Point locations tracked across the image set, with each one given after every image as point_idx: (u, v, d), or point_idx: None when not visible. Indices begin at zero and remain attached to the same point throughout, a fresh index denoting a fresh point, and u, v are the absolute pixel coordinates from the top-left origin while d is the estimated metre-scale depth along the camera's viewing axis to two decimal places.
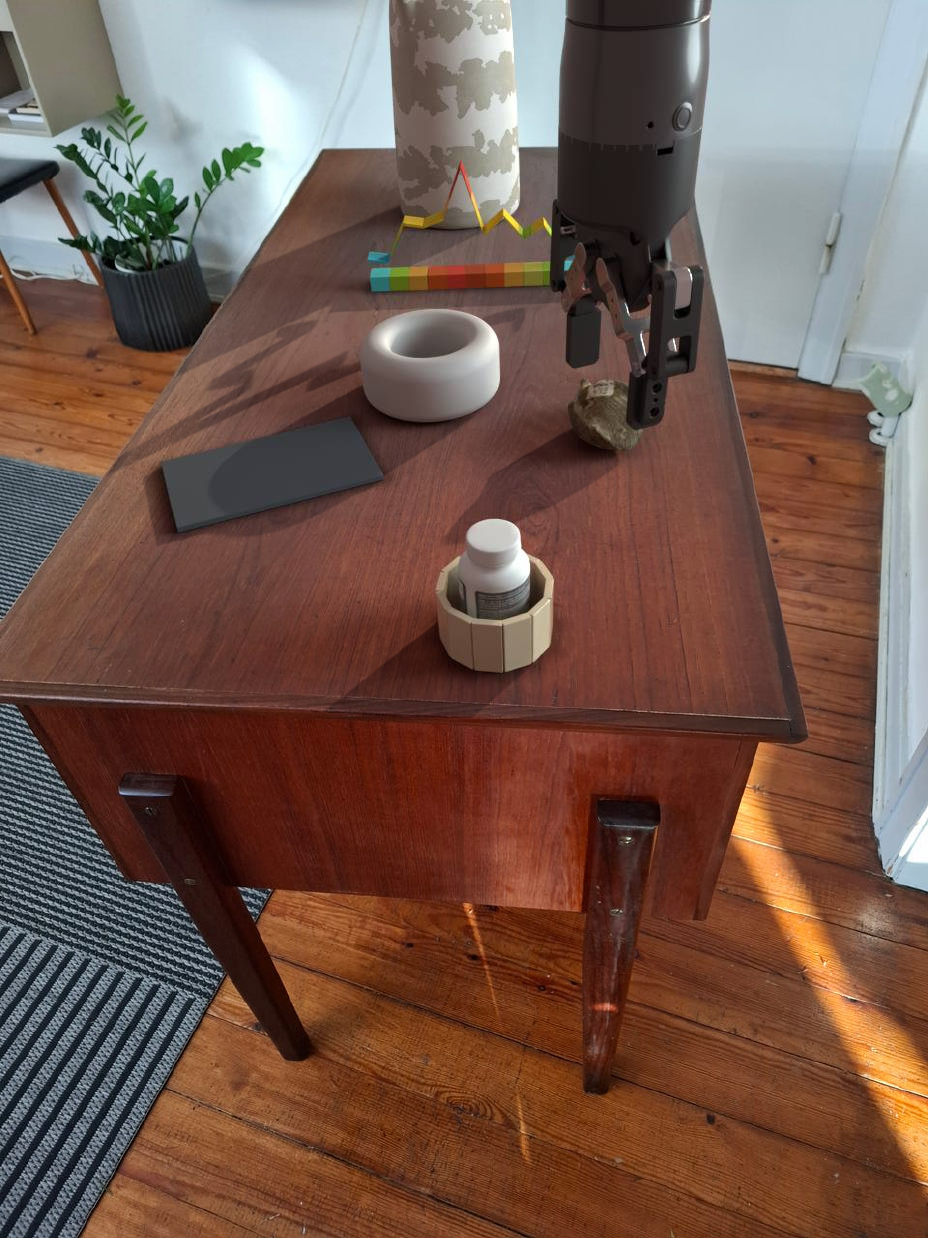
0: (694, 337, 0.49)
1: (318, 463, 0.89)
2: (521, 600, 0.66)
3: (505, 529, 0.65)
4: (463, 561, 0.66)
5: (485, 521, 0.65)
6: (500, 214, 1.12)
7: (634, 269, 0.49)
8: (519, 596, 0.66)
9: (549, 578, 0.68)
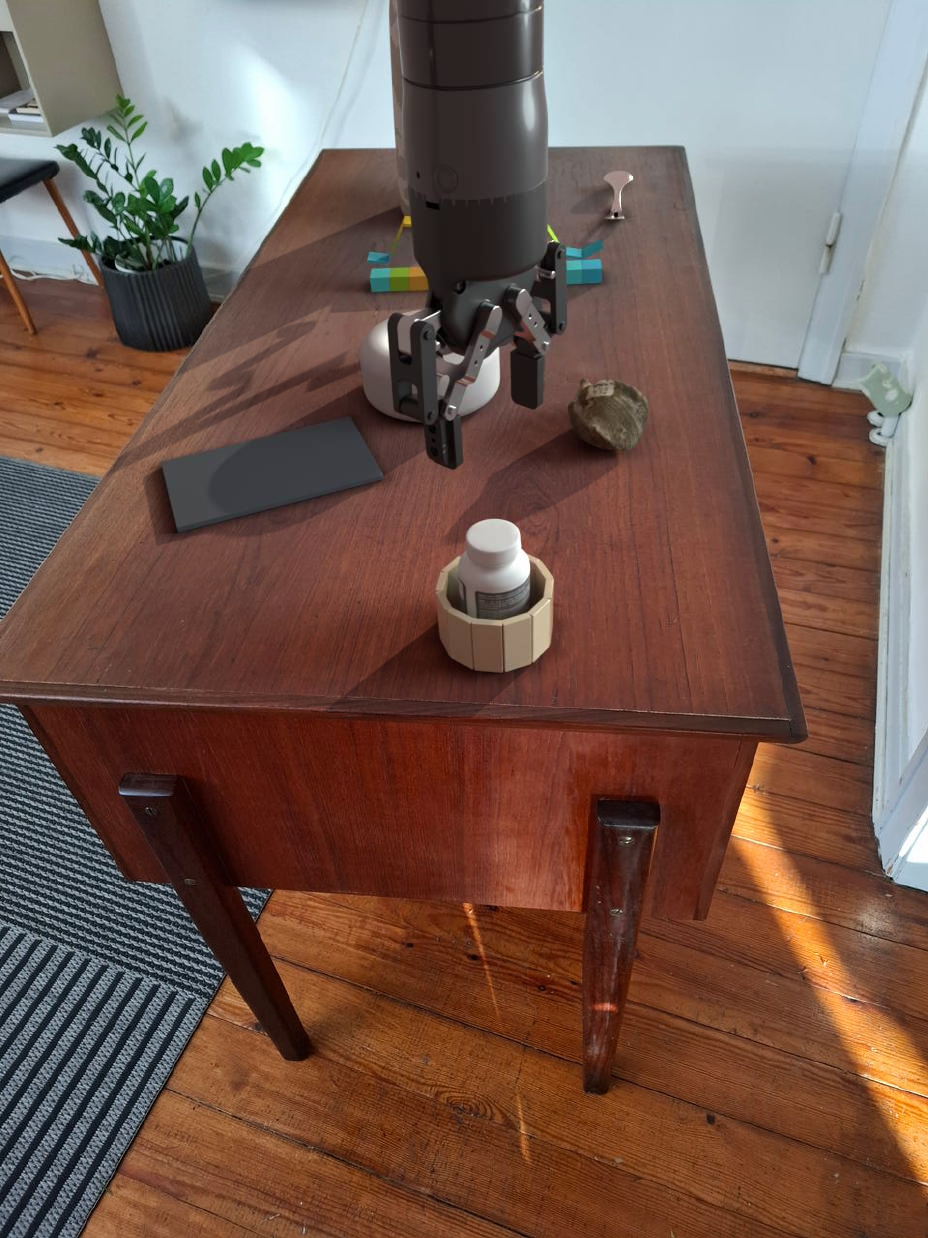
0: (419, 390, 0.50)
1: (318, 463, 0.89)
2: (521, 600, 0.66)
3: (505, 529, 0.65)
4: (463, 561, 0.66)
5: (485, 521, 0.65)
6: None
7: None
8: (519, 596, 0.66)
9: (549, 578, 0.68)
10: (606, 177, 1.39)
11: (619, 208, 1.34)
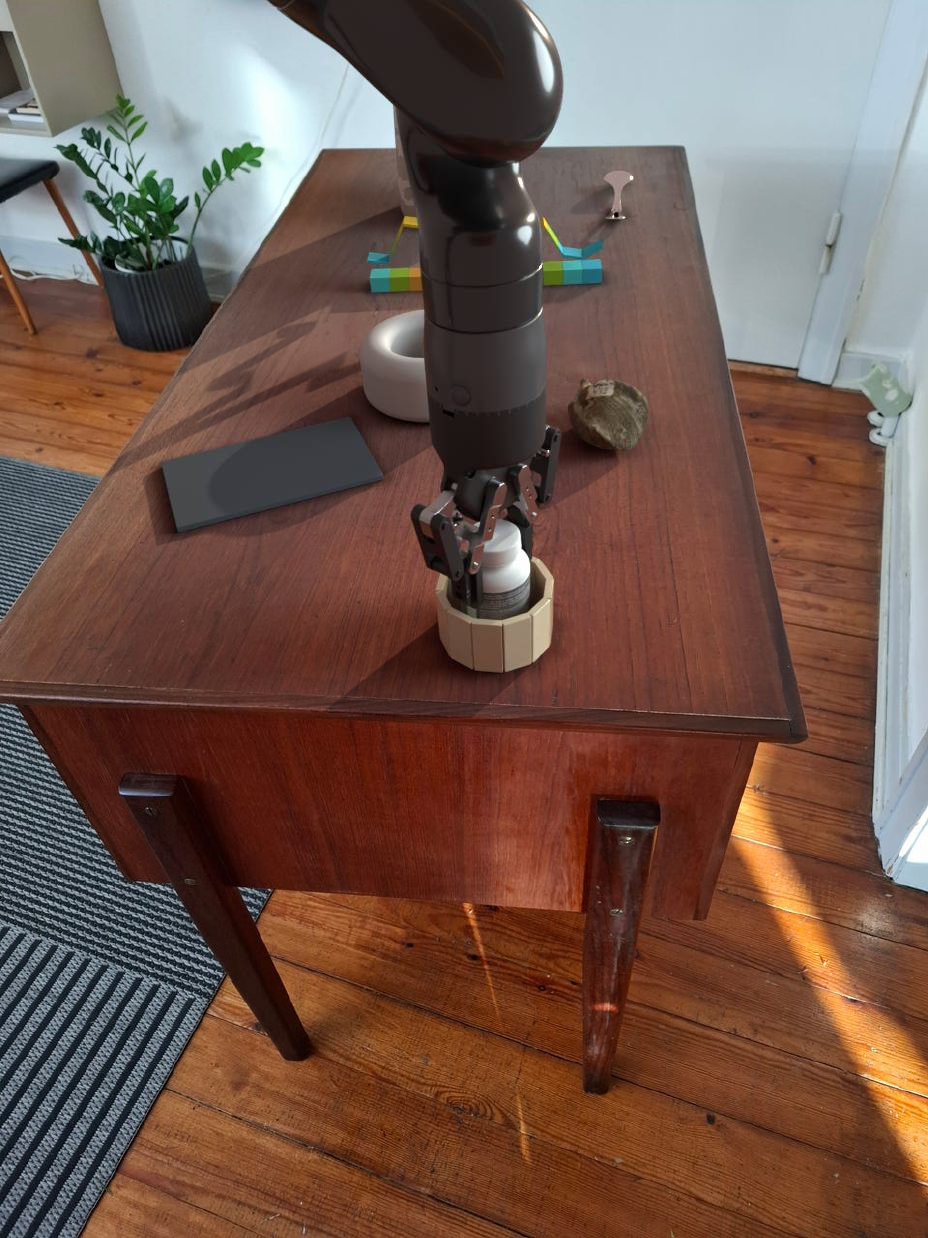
0: (445, 561, 0.59)
1: (318, 463, 0.89)
2: (521, 600, 0.66)
3: (505, 529, 0.65)
4: None
5: None
6: None
7: None
8: (519, 595, 0.66)
9: (549, 578, 0.68)
10: (606, 177, 1.39)
11: (619, 208, 1.34)
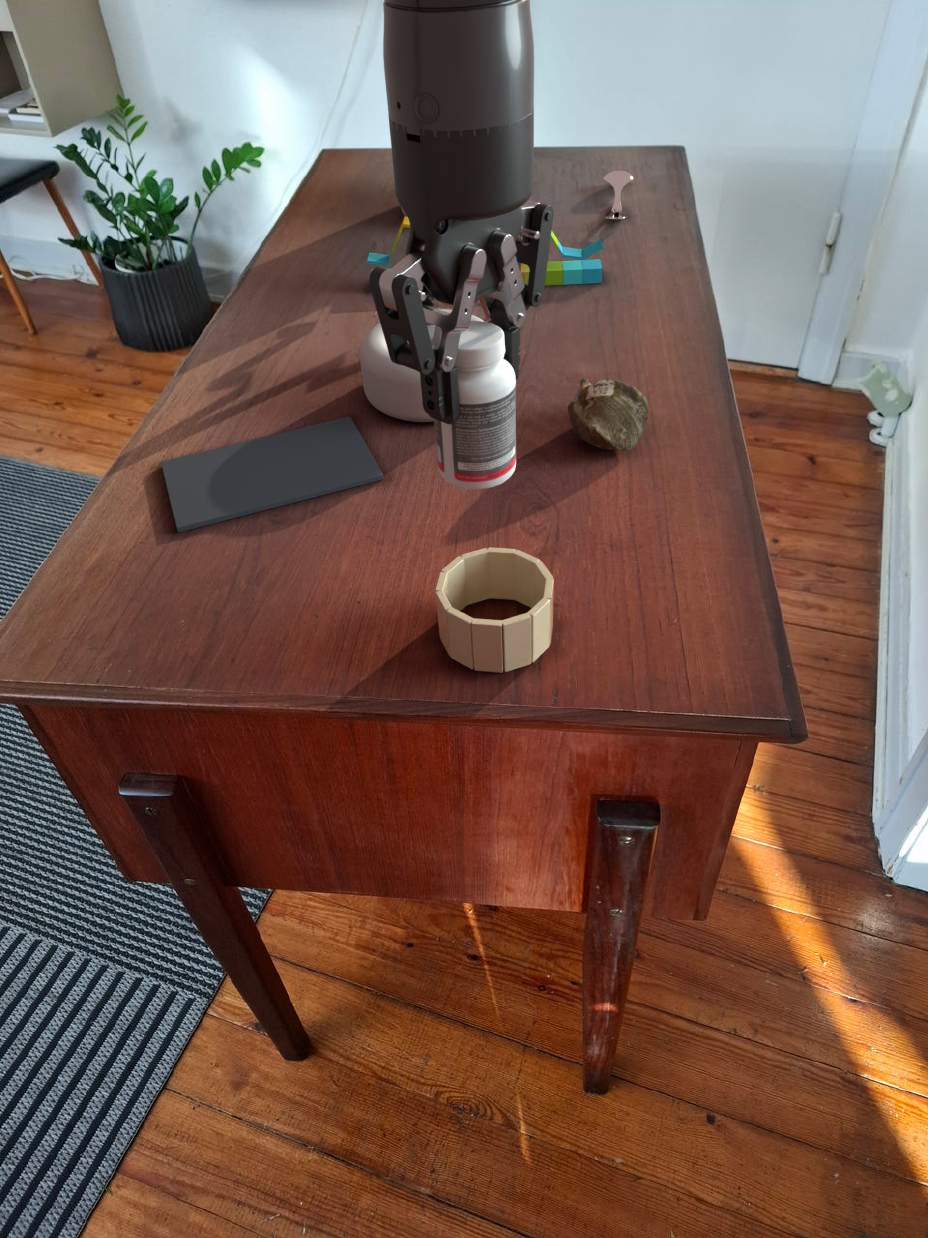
0: (411, 343, 0.49)
1: (318, 463, 0.89)
2: (505, 419, 0.56)
3: (486, 329, 0.55)
4: None
5: None
6: None
7: None
8: (502, 411, 0.56)
9: (549, 578, 0.68)
10: (606, 177, 1.39)
11: (620, 208, 1.34)
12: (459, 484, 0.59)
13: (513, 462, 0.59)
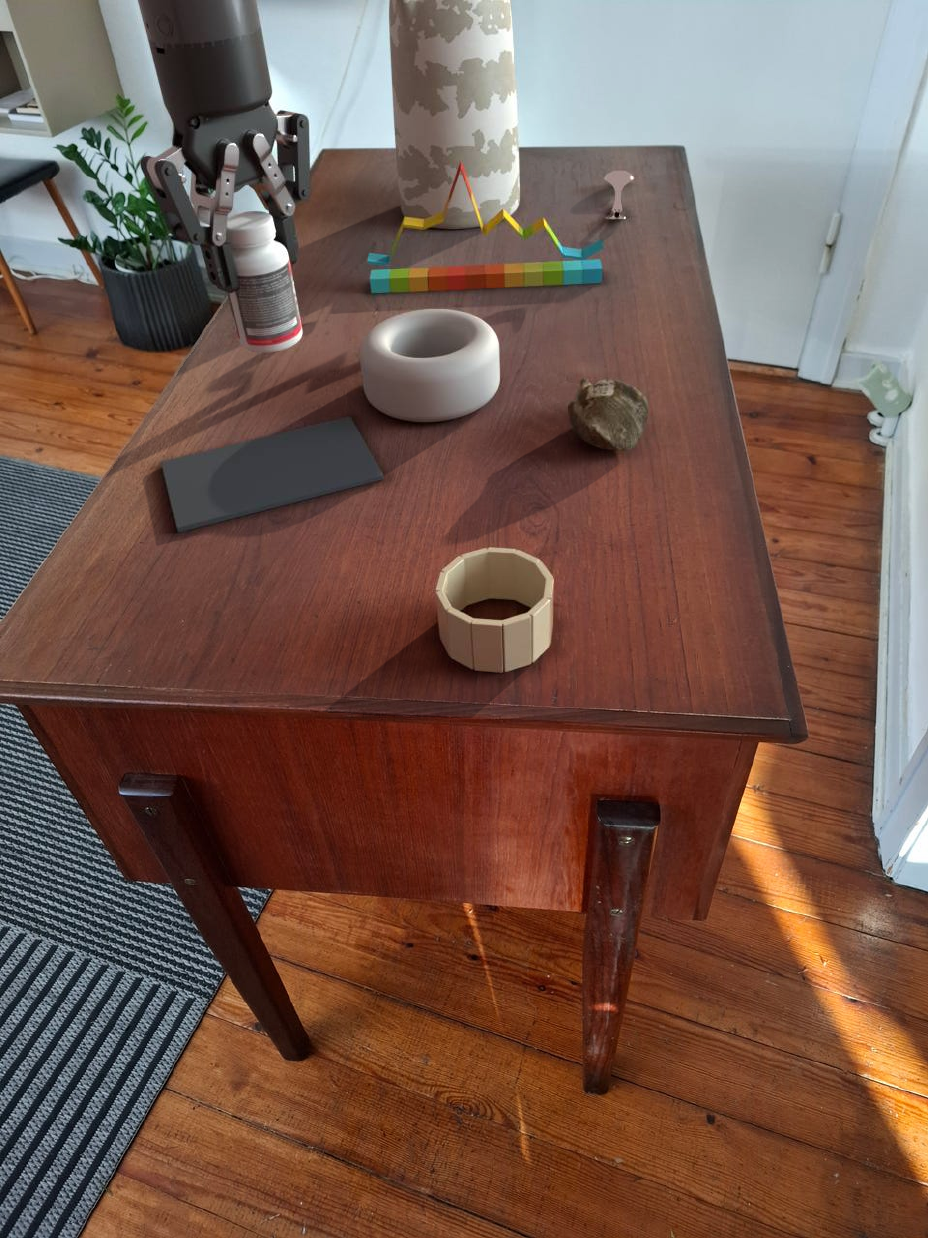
0: (179, 218, 0.63)
1: (318, 463, 0.89)
2: (280, 290, 0.70)
3: (259, 216, 0.68)
4: None
5: (243, 212, 0.69)
6: (500, 215, 1.12)
7: None
8: (275, 283, 0.69)
9: (549, 578, 0.68)
10: (607, 177, 1.39)
11: (620, 208, 1.34)
12: (251, 348, 0.73)
13: (296, 331, 0.73)
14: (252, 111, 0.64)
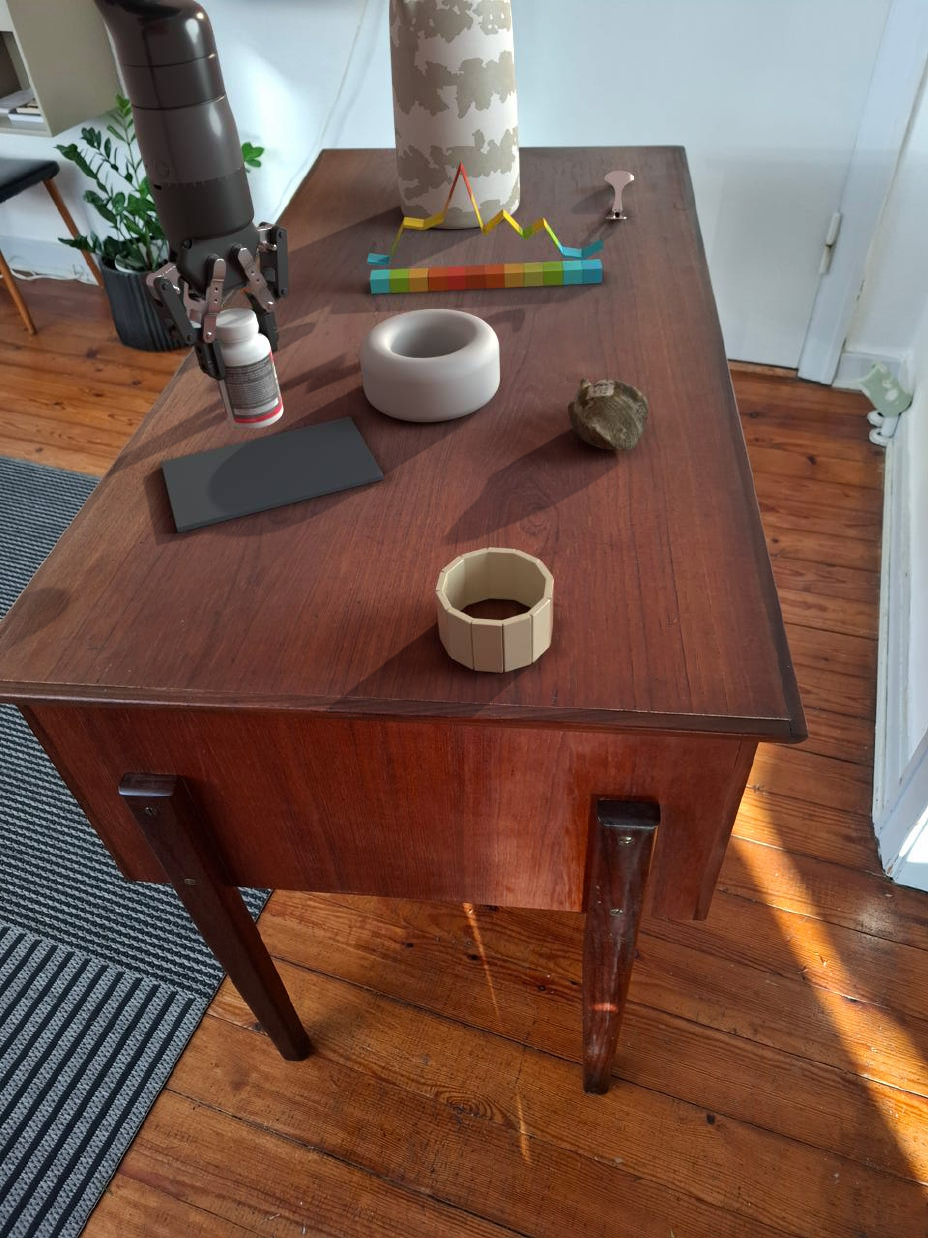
0: (174, 323, 0.72)
1: (318, 463, 0.89)
2: (262, 377, 0.80)
3: (244, 313, 0.78)
4: None
5: (230, 309, 0.79)
6: (500, 215, 1.12)
7: None
8: (258, 371, 0.79)
9: (549, 578, 0.68)
10: (607, 177, 1.39)
11: (620, 208, 1.34)
12: (238, 425, 0.82)
13: (277, 409, 0.83)
14: None
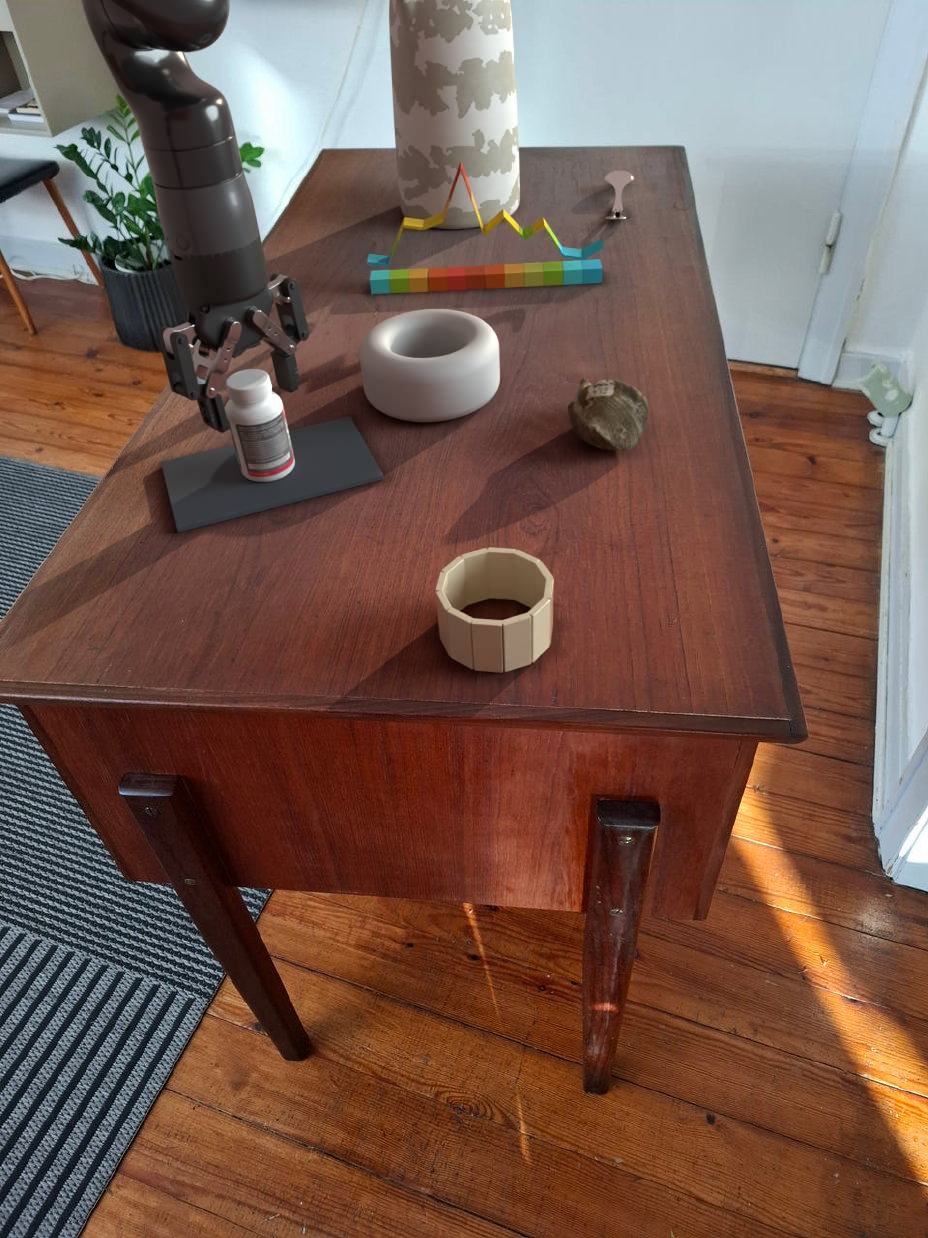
0: (182, 377, 0.75)
1: (318, 463, 0.89)
2: (275, 434, 0.84)
3: (258, 375, 0.82)
4: (228, 402, 0.83)
5: (245, 370, 0.83)
6: (500, 215, 1.12)
7: None
8: (272, 429, 0.83)
9: (549, 578, 0.68)
10: (607, 177, 1.39)
11: (620, 208, 1.34)
12: (252, 478, 0.86)
13: (289, 463, 0.87)
14: None
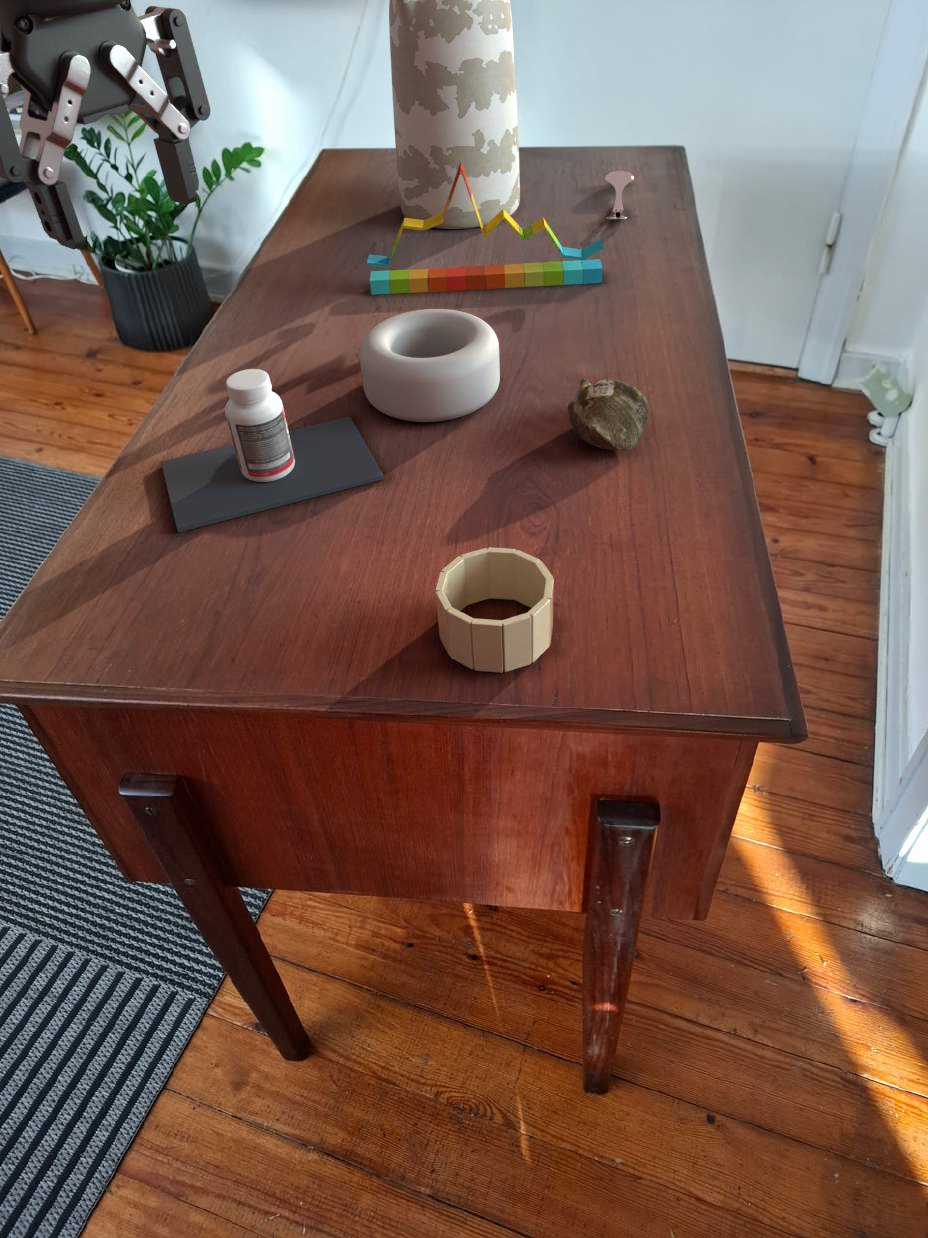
0: None
1: (318, 463, 0.89)
2: (275, 434, 0.84)
3: (258, 375, 0.82)
4: (228, 402, 0.83)
5: (244, 370, 0.83)
6: (500, 215, 1.12)
7: None
8: (271, 429, 0.83)
9: (549, 578, 0.68)
10: (607, 177, 1.39)
11: (621, 208, 1.34)
12: (252, 478, 0.86)
13: (289, 463, 0.87)
14: (108, 16, 0.49)
